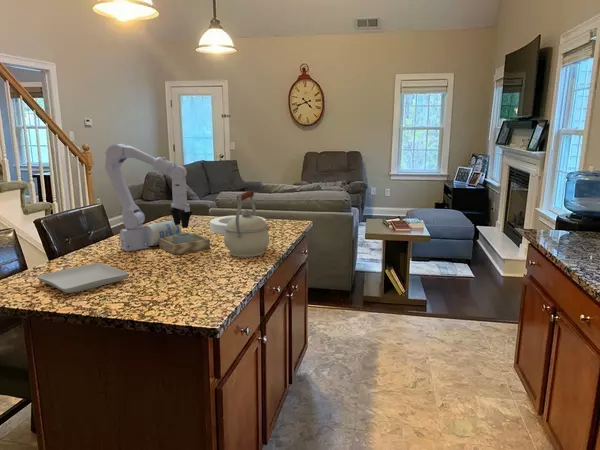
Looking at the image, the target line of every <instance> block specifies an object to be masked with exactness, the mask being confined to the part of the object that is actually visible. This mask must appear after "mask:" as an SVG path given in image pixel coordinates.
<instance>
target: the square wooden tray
mask: <svg viewBox="0 0 600 450" xmlns="http://www.w3.org/2000/svg"><path fill="white" fill-rule="evenodd" d="M190 233H191V234H193V235H194V242H188V243H182V244H176V245H175V244H174V243H173V236H170V237H163V238H159V245H158V247H159V248H160V249H162V250H164V251H166V252H167V253H170V254H172V255H173V256H176V255H181V254H182V255H183V254H186V253H187V254H188V253H193V252H200V251H205V250H209V249H211V239H210V238H207V237H204V236H202V235H199V234H197V233H195V232H190Z"/></svg>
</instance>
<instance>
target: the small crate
mask: <svg viewBox="0 0 600 450" xmlns="http://www.w3.org/2000/svg"><path fill="white" fill-rule="evenodd" d="M191 233H192V232H184V233H183V232H182V234H176V235H173V243H174V244H175V245H176V244H182V243H188V242H194V235H193V234H191Z"/></svg>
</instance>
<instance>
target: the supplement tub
mask: <svg viewBox="0 0 600 450" xmlns="http://www.w3.org/2000/svg"><path fill="white" fill-rule="evenodd" d="M182 233H183V232H182V226H181V224H180V225H175V223H174V220H173V219H172V220H166V221H160V222H155V223H150V224H145V225H144V236H145V245H146V246H148V247H154V246H159V238H163V237H170V236H173V235H176V234H182Z"/></svg>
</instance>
